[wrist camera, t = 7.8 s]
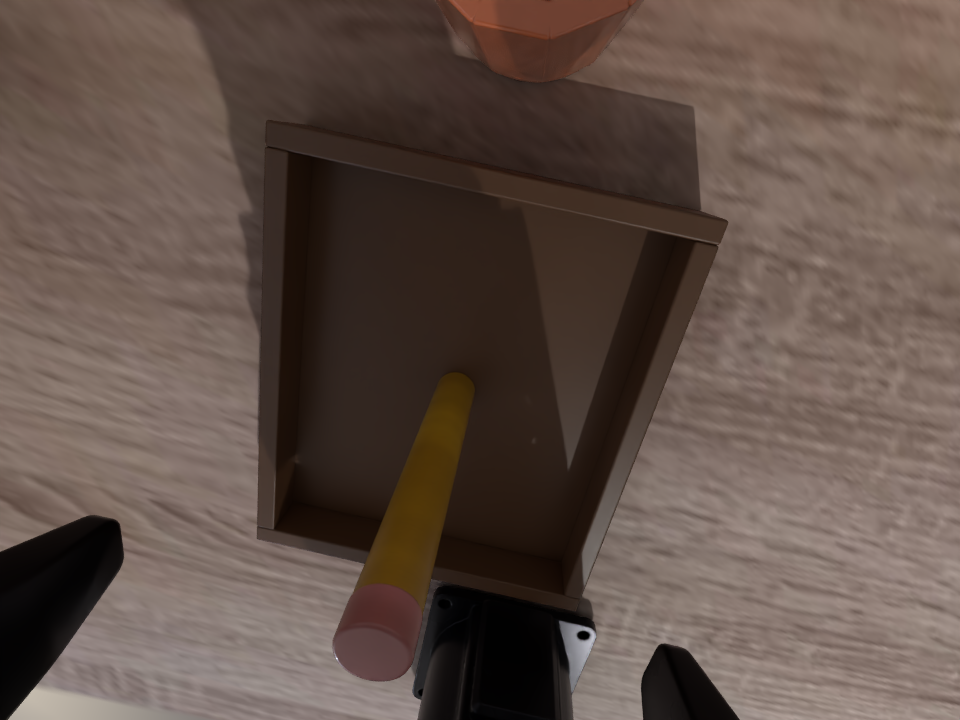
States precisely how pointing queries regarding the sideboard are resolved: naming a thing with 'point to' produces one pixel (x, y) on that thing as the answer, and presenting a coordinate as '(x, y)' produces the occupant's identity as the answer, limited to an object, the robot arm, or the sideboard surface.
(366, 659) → the pencil
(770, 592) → the sideboard surface
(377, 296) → the tray
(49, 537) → the robot arm
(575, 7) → the pen pot
